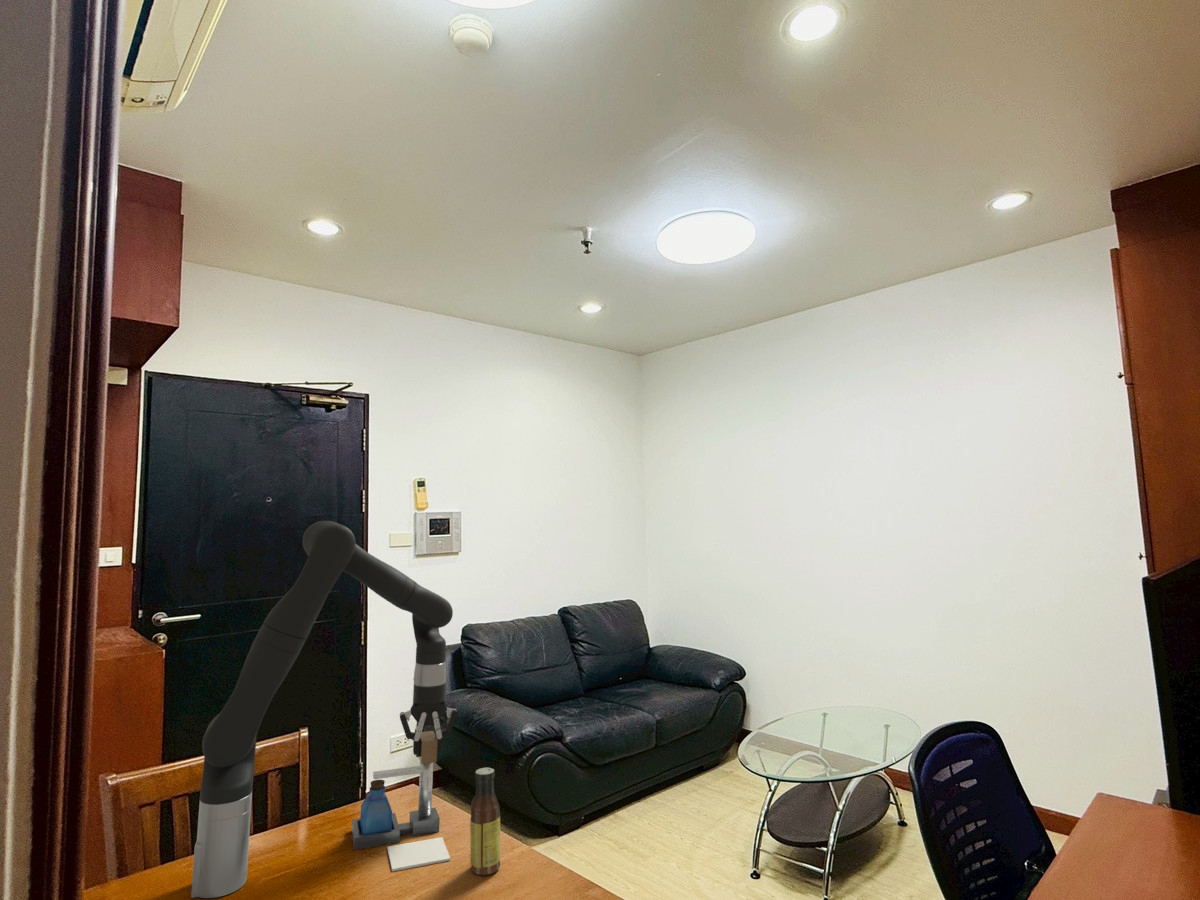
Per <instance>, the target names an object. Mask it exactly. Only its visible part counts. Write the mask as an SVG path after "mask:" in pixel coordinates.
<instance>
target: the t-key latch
mask: <svg viewBox="0 0 1200 900" xmlns="http://www.w3.org/2000/svg"><path fill="white" fill-rule="evenodd" d="M419 739H420V754H419V757H418V759H419V765H417V766H416V765H415V766H409V767H408V766H407V767H400V768H392V769H385V770H377V771H372V776H373V777H372V778H373V780H382V779H386V778H394V777H402V776H403V777H404V776H409V775H416V774H419V780H418V781H419V783H418V784H419V785H418V806H417V808H418V809H417V810H418V815H419V816H428V815H430V814H431V808H432V807H433V806H432V804H433V803H432V801H433V779H434V778H433V776H434V775H433V774H434V763H437V762H438V755H437V743H438V740H437V738H436V733H435V732H434V730H428V731H422V732H421V735H420V738H419Z"/></svg>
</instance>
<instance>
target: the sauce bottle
mask: <svg viewBox="0 0 1200 900" xmlns="http://www.w3.org/2000/svg"><path fill="white" fill-rule="evenodd" d="M495 773H496V772H495V769H494V768H493V767H492V768H491V767H482V768H478V769H476V770H475V774H474V778H475V795H474V796H473V798H472V800H471V803H470V825H469V826H470V834H469V835H470V837H469V838H470V855H469V856H470V866H471V871H472V872H473V874H476V875H479V876H490V875H492V874H495V873H496V872H498V870H499V868H500V866H501V857H502V856H501V855H502V854H501V812H500V811H501V810H500V804H499V801H498V799H497V796H496V793H495V786H494V785H495V782H494V781H495V780H494V779H495V777H496V774H495Z"/></svg>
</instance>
